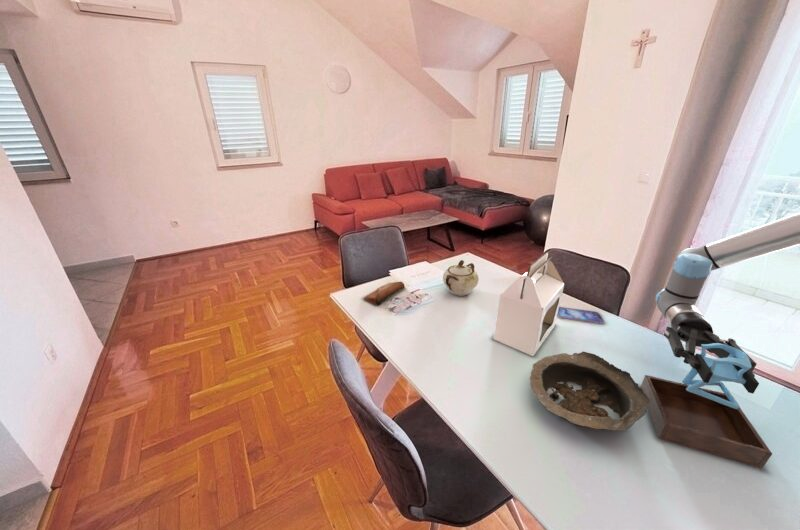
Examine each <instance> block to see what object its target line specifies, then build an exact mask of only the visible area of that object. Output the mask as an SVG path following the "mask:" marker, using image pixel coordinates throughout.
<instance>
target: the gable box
mask: <svg viewBox="0 0 800 530" xmlns="http://www.w3.org/2000/svg"><path fill="white" fill-rule="evenodd" d="M552 258H553V255H551V256H550V257H549V252H548V251H546V252H545V253H543V254H542V255H541V256H540V257H538V258H537V259H536V260H535V261H533V262H532V264H530V265H529V266H528V270H527V271H526V272H524V274H522V275H521V276H519V277H518V278H517V279H515V281H514V282H513V283H512V284H510V286H508V287H507V288H506V289H505V290H504V291H502V292H501V293H500V294H499V299H498V307H497V313H496V318H495V319H496V320H495V325H494V333H493V340H495V341H497V342H499V343H501V344H503V345H506V346H509V347H510V348H513V349H515V350H518V351H520V352H522V353H524V354H527V355H529V356H531V357H534V356H535V354H536V353H537V352H538V350H539V349H540V347H541V346H542V344H543V343H544V342H545V341H546V339H547V337H548V336H549V334H550V333H551V332H552V331H553V329H554V327H555V326H556V322H557V318H558V310H559V307H560V304H561V300H562V296H563V292H564V289H565V283H564V281H563V279H562V277H561V275H560V273H559V271H558V269H557V267H556V265H555V264H554V262H553V260H551V259H552ZM543 323H546V324H549V325H550V326H549V327H547V328H546V330H545V331H544V333H543V335H542V330H543Z"/></svg>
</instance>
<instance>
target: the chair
mask: <svg viewBox="0 0 800 530" xmlns="http://www.w3.org/2000/svg"><path fill="white" fill-rule="evenodd" d="M700 348H701V353H699V354H700V355H701V356H702V358H703V359H704V360H705V362H706V363H707V365H708V366H709V368H710V369H711V371H712V372H713V375H712V377H711V378H710V380H709V382H708V383H705V382H703V380H702V379H694V378H695V377H696V376H697V375H699V374H698V372H697V371H696V369H694V368H692V367H691V369H690V370H689V372H688V373H687V374H686V375H685V377H683V379H682V380H681V383H683V384H687V385H690V386H688V387H687V388H686V390H687V391H689V392H691V393H694V394H697V395H700V396H703V397H705V398H708V399H711V400H713V401H716V402H718V403H721V404H723V405H726V406H729V407H731V408H734V409H738V408H739V407H740V404H739V402H738V401H737V400H736V399H735V397H734V395H732V393H731V392H730V391H729V389H728V388H727V387H726V385H725V384H724V382H730V383H736V384H740V385H742V384H745V382H746V380H745V379H744V378H743V377H742V376H743V373H744V372H746V371H747V370H749V369H750V368H751V367H752V366H751V362H750V360H749V358H748V356H749V355H748V354H747V353H746V352H745V351H744V352H745V353H746V354H747V355H748V356H747V355H746V354H745V353H744V352H742V351H741V350H739V349H736V348H734V347H731V346H728V345H724V344H720V343H712V344H701V347H700ZM709 348H721V349H724V350H726V351H728V352H729V353H730V355H729V356H728V357H727V358H719V357H718V358H715V357H713V358H712V357H707V356H706V355H707V352H706V351H707V350H706V349H709ZM734 356H736V357H737V358H734ZM732 364H733V365H737V366H739V367H741V368H743V369H741V370H739V371H737V370H736V369H735V367H734V366H733V365H732ZM705 386H715V387H716V386H717V387H719V388H720V390H721V391H722V393H725V395H726V396H727V398H728V399H729V401H727V400H725V399H722V398H720V397H717V396H715V395H712V394H710V393H707V392H705V391H702V390H699V389H698V388H703V387H705Z"/></svg>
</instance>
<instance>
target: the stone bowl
mask: <svg viewBox="0 0 800 530" xmlns="http://www.w3.org/2000/svg"><path fill="white" fill-rule="evenodd" d="M529 383H530V387H531V391H532V393H533V394H534V395H535V397H536V398H537V399H538V400H539V402H540V403H541V404H542V405H543V406H544V408H545V409H546V410H547V411H549V412H551V413H552V414H554V415H556V416H559V417H560V418H562V419H564V420H565V421H568V422H570V423H571V424H574V425H578V426H582V427H586V428H591V429H595V430H596V429H597V430H608V431H609V430H610V431H614V432H616V431H622V432H626V431H627V430H629V429H630V428H632V427H633V425H634V424H635V423H636V422H637V421H639V420H640V419H642V418H643V417H645V415H646V413H647V407H646V404H648V403H650V402H649V401H650V400H649V398H648V397H647V396H646V395H645V394H644V393H643V390H642V389H641V388H640V387H639V383H637V382H635V380H634V378H633V377H632V376H631V373H630V372H629V371H626V370H622V369H621V368H618V367H617V366H615V365H614V364H612V363H610V362H608V361H607V360H606V359H604V358H603V357H600V356H599V355H597V354H595V353H592V352H591V353H590V352H587V351H581V352H579V353H578V352H574V353H572V354H568V353H566V352H565V353H564V352H562V353H559V354H553V355H548V356H544V357H542V358H541V359H539V360H537V361H536V362H535V363H533V364H532V368H531V371H530V376H529ZM568 383H574V384H576V385H578V386H580V387H581V389H575V387H574V386H573V385H572V384H571V386H569V384H568ZM549 389H551V391H552V393H551V394H549V393H548V390H549ZM574 389H575V390H574ZM560 396H562V397H563V399H560V401H559V402H558V403H556V401H558V400H559V398H560ZM598 405H600V406H605V407H608V408H609V409H610V410H612V412H613V413H617V414H618V415H619V417H618V418H612V417H611V416H610V414H609V412H608V410H606V409H605V408H603V407H599V406H598Z"/></svg>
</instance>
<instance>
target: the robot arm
mask: <svg viewBox="0 0 800 530" xmlns="http://www.w3.org/2000/svg"><path fill="white" fill-rule="evenodd" d="M796 246H800V212H798V213H794V214H792V215H789V216H788V215H787V216H786V217H782V218H780V219H776V220H774V221H771V222H768V223H766V224H763V225H761V226H760V225H759V226H756V227H754V228H751V229H747V230H745V231H743V232H740V233H736V234H735V235H731V236H729V237H726V238H722V239H720V240H717V241H714V242H710V243H708V244H705V245H702V246H699V247H688V248H685V249H683V250H682V251H681V252H680V253H679V254H678V255H677V256H676V258H675V261H674V263H673V266H672V269H671V272H670V275H669V277H668V280H667V282H666V286H665V288H662V289H661V290H660V291H659V292H657V293H656V295H655V303H656V306H657V309H658V310H659V311H660V313H661V314H662V315H663V317H664V319H665V320H666V322H667V323H668V325H669V326H666V328H665V331H664V333H663V336H664V337H665V338H666V339H667V340H668V343H669V346H670V348H671V351H672V353H673V356H674V357H676V358H677V359H680V358H684V359H683V363H684V364H687V365H689V367H691V369H692V368H694V369H696V371H697V372H698V374H697V375H698V376H699V378H700V380H703V382H705V383H708V382H709V380H710V378H711V377H712V375H713V372H712V371H711V369H710V368H709V366H708V365H707V363H706V362H705V360H704V359H703V358H702V356H701V355H700V354H701V353H696V347H697V348H702V347H701V344H712V343H720V344H724V345H728V346H731V347H734V348H736V349H739V350H741V351H742V352H744V353H745V354H746V355H747V356H748V358H749V360H750V362H751V366H752V367H751V368H750V369H749V370H747V371H746V372H744V373H743V376H742V377H743V378H744V379H745V380H746V382H745V384H741V385H742V386H743V387H744V389H745V390H746V392H747V393H749V394H754V393H755V392H756V390H757V388H758V387H759V385H760V382H759V381H758V380H757V379H756V378H755V377H756V374H755V373H754V372H753V371H754V370H755V368H756V366H757V362H756V361H755V360H754V359H752V357H751V356H749V354H748V353H746V352H745V351H744V350H743V349H742V348H741V347H740V346H739V345H738V344H737V342H736V341H737V340H735V339H733V338H728V339H723V338H720V336H719V335H717V334H716V333H715V332H714V330H713V326H712V325H711V323H710V322H709V321H708V320H707V319H706V317H705V316H704V315H703V314H702V313H701V312H700V310H699V309H698V308H697V306H696V304H697V301H698V299H699V297H700V294H701V292H702V290H703V288H704V286H705V283H706V281H707V279H708V277H709V276H710V274H711V272H712V271H714V270H719V269H722V268H725V267H728V266H731V265H732V266H733V265H735V264H738V263H741V262H745V261H749V260H752V259H756V258H759V257H762V256H766V255H769V254H772V253H776V252H779V251H783V250H786V249H791V248H793V247H796ZM683 342H684V343H685V345H683ZM705 350H706V351H707V352H709V353H710V354H714V355H715V356H717V358H718V359H719V358H727V357H728V356H729V355H730V353H729V352H728V351H726V350H724V349H721V348H709V349H705ZM734 358H737V357H736V356H734ZM732 365H733V364H732ZM733 366H734V367H735V369H736V370H737V371H739V370H741V369H743V368H741V367H739V366H737V365H733Z"/></svg>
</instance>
